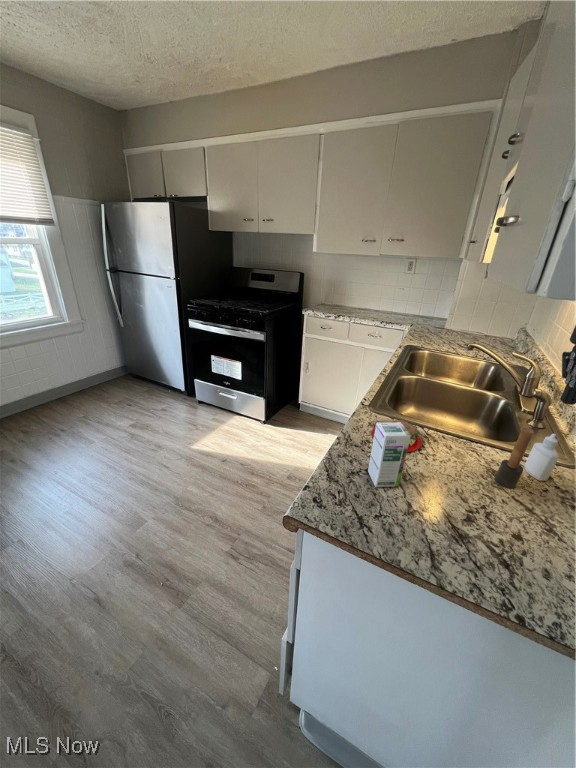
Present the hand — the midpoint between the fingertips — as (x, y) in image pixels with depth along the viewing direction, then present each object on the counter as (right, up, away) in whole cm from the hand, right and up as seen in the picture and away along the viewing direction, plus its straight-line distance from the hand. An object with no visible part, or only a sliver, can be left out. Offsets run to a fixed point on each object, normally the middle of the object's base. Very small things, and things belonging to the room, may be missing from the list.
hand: (567, 402), depth 66 cm
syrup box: (-36, -19, +9) cm, 42 cm away
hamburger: (-28, -12, +25) cm, 39 cm away
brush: (-6, -20, +10) cm, 23 cm away
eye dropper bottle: (+3, -19, +13) cm, 23 cm away
